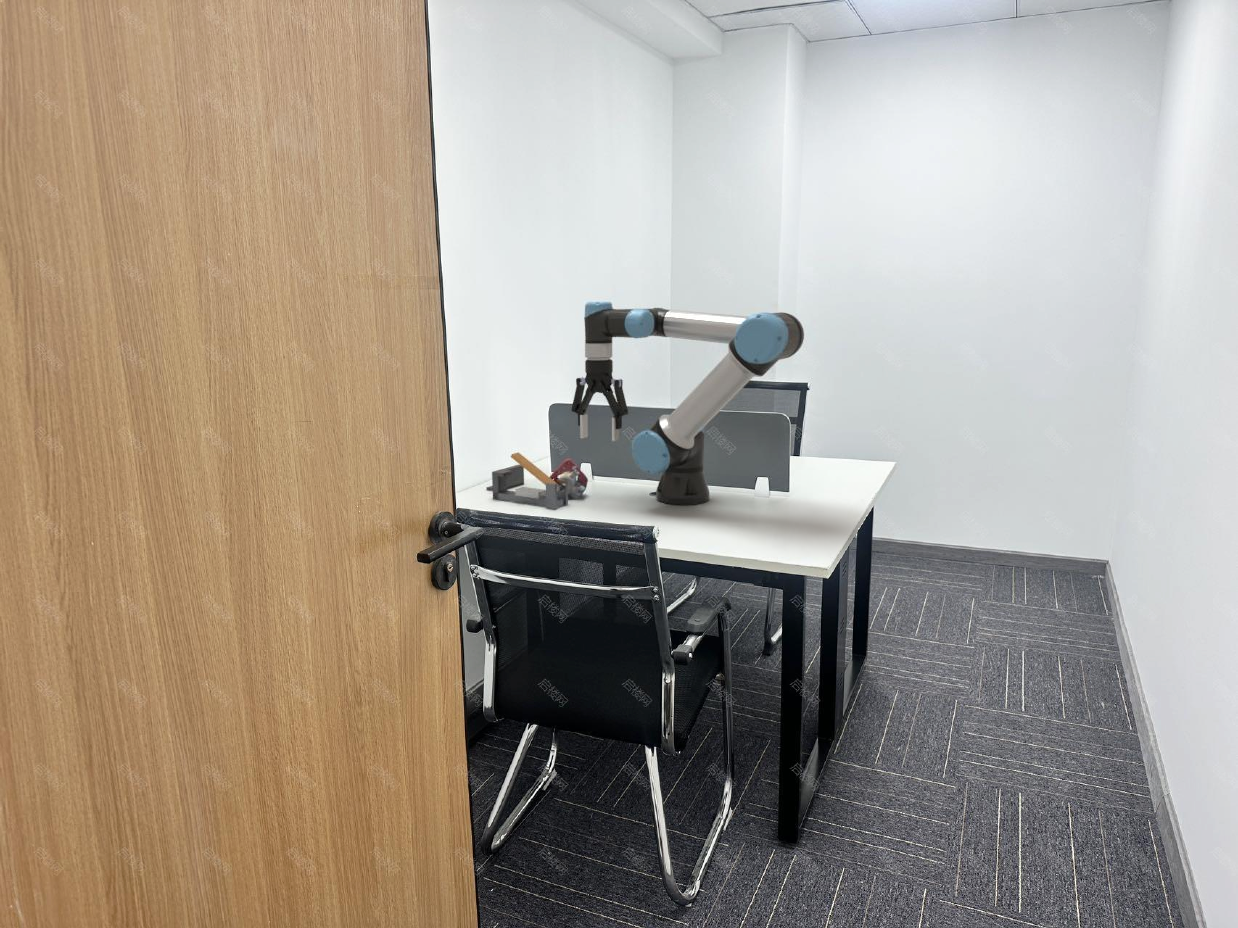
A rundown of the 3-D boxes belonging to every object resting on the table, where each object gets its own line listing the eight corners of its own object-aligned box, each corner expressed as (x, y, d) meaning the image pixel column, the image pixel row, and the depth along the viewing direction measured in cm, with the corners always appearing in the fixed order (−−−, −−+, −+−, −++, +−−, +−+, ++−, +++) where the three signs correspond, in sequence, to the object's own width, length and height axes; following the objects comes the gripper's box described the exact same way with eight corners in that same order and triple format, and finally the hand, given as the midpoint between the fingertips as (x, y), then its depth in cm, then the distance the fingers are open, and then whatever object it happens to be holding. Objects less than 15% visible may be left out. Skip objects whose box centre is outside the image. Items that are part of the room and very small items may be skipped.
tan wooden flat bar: (561, 491, 232) (563, 487, 232) (554, 493, 229) (556, 489, 229) (517, 455, 238) (518, 451, 237) (510, 457, 235) (512, 453, 235)
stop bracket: (524, 484, 259) (523, 465, 258) (499, 492, 249) (498, 472, 248) (511, 482, 262) (510, 463, 261) (486, 490, 252) (485, 470, 251)
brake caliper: (591, 483, 249) (587, 456, 240) (587, 512, 242) (582, 485, 233) (554, 482, 251) (548, 455, 242) (548, 511, 244) (542, 485, 235)
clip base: (568, 504, 234) (567, 476, 232) (555, 509, 228) (554, 480, 227) (504, 495, 245) (503, 468, 243) (490, 499, 240) (489, 472, 238)
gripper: (641, 359, 228) (641, 440, 233) (572, 356, 240) (573, 434, 244) (627, 361, 222) (627, 444, 226) (557, 358, 233) (559, 437, 238)
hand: (599, 439), depth 235 cm, fingers open, 10 cm apart
